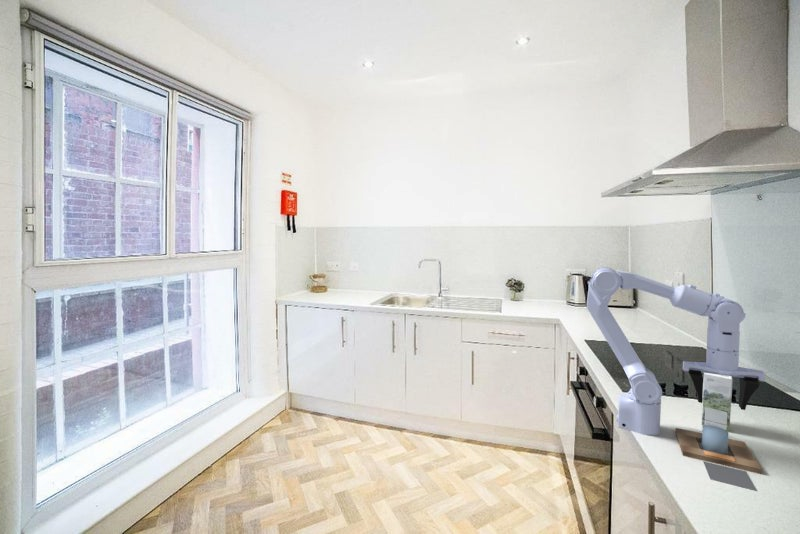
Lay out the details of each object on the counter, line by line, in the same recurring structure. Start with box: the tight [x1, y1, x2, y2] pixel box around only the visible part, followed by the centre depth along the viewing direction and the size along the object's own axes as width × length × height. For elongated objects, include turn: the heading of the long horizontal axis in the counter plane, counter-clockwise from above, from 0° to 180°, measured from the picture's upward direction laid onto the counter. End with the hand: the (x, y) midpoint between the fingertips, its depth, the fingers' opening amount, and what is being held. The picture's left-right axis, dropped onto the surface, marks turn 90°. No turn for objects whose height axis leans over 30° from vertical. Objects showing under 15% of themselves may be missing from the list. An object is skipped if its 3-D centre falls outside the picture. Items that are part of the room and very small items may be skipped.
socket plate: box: [674, 427, 763, 475], centre depth 83 cm, size 13×12×2 cm
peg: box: [701, 425, 729, 455], centre depth 83 cm, size 4×4×6 cm
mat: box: [702, 460, 758, 492], centre depth 74 cm, size 7×7×1 cm
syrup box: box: [701, 373, 733, 433], centre depth 96 cm, size 6×6×14 cm
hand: (720, 404), depth 86 cm, fingers open, 7 cm apart
